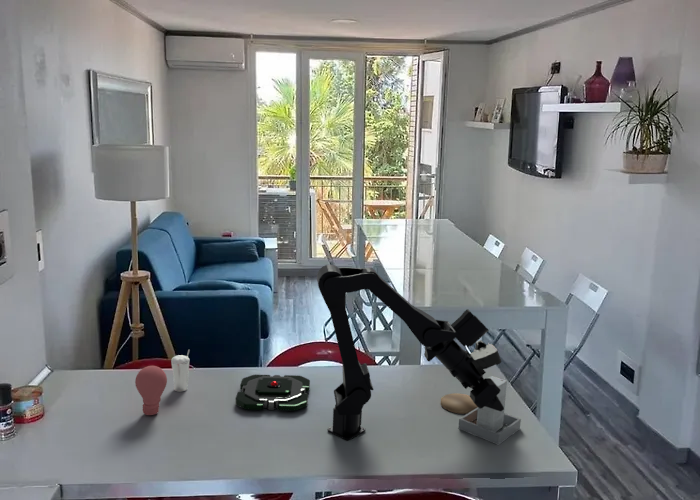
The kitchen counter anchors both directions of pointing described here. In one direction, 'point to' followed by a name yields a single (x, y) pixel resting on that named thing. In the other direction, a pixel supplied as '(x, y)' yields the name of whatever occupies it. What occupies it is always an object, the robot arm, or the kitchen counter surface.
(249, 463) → the kitchen counter surface
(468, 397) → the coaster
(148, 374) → the light bulb
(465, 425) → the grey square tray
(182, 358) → the milkshake
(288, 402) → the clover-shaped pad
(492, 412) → the skincare box
